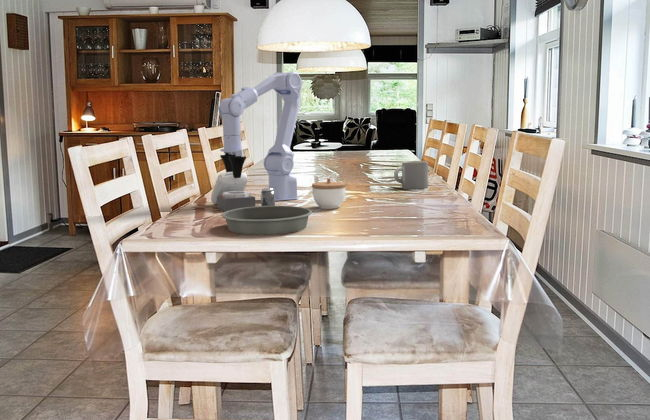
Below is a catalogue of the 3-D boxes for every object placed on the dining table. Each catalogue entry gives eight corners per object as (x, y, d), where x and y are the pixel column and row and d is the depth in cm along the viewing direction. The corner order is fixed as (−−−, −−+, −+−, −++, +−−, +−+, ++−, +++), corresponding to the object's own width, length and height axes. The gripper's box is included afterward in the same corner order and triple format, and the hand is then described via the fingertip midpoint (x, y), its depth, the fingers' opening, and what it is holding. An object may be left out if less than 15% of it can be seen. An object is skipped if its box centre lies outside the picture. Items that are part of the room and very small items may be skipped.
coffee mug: (424, 185, 282) (424, 160, 280) (430, 188, 272) (430, 162, 270) (391, 186, 280) (391, 161, 279) (395, 189, 271) (395, 163, 269)
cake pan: (233, 220, 208) (233, 205, 208) (317, 220, 206) (316, 205, 205) (211, 236, 184) (211, 219, 183) (306, 236, 182) (305, 219, 181)
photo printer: (236, 194, 244) (246, 168, 237) (240, 203, 242) (251, 177, 234) (208, 196, 239) (218, 169, 231) (213, 205, 236) (222, 178, 229)
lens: (272, 204, 237) (271, 187, 236) (276, 206, 233) (276, 188, 232) (259, 205, 235) (258, 188, 234) (263, 207, 231) (263, 189, 230)
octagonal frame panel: (246, 205, 235) (246, 190, 235) (255, 209, 227) (255, 193, 227) (217, 208, 231) (216, 192, 230) (225, 211, 223) (224, 195, 222)
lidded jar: (307, 209, 226) (306, 180, 224) (319, 204, 236) (318, 176, 234) (339, 210, 222) (339, 180, 221) (350, 205, 232) (349, 177, 231)
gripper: (214, 134, 237) (216, 175, 239) (226, 136, 224) (228, 179, 226) (234, 134, 240) (236, 174, 242) (247, 135, 227) (249, 178, 229)
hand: (233, 176), depth 234 cm, fingers open, 7 cm apart
